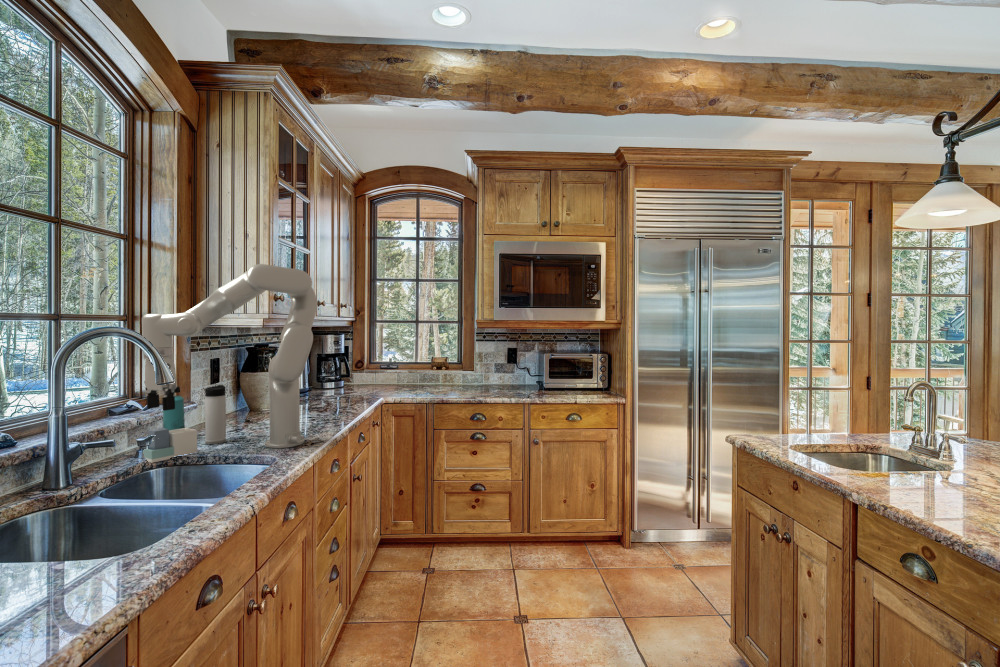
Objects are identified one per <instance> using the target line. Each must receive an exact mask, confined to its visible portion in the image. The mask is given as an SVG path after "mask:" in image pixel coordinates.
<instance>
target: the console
mask: <svg viewBox="0 0 1000 667" xmlns="http://www.w3.org/2000/svg"><path fill="white" fill-rule="evenodd" d="M195 452H197V453H198V430H197V429H194V428H189V427H185V428H182V429H176V430H170V431H169V447H168V448H163V449H158V450H150V449H144V450H143V454H144V457H145V458H146V459H147V461H148V463H152V464H154V463H156V462H157V463H158V462H161V461H167V460H171V459H170V458H171V457H174V456H178V455H184V454H190V453H195ZM147 461H146V462H147Z"/></svg>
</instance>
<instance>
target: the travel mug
mask: <svg viewBox="0 0 1000 667" xmlns="http://www.w3.org/2000/svg"><path fill="white" fill-rule="evenodd" d="M226 395H227V394H226V386H225V385H224V384H219V385H218V384H217V385H215V386H208V387H206V388H204V423H205V424H204V430H205V434H204V437H205V438H204V439H205V440H204V441H205V442H204V443H206V444H205V445H207V444H217V445H219V444H218V443H222V444H224V443H223V442H225V443H226V442H227V421H226V420H227V413H226V412H227V411H226V410H227V408H226V407H227V406H226V405H227V403H226V398H227V396H226Z"/></svg>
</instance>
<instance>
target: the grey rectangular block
mask: <svg viewBox="0 0 1000 667" xmlns="http://www.w3.org/2000/svg"><path fill="white" fill-rule="evenodd" d="M151 435H156V436H154V438H153V440H154V441H153V443H152V444H151V445H150V446H149V448H148V449H150V450H158V449H163V448H168V447H169V429H166V428H163V427H160V428H153V429H152V428H151V429H148V430H147V438H148V437H149V436H151ZM158 438H159V439H158Z"/></svg>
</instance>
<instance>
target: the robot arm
mask: <svg viewBox="0 0 1000 667" xmlns="http://www.w3.org/2000/svg"><path fill="white" fill-rule="evenodd" d="M312 286H313V281H312V277H311V275H310V274H308V273H307V272H306V271H304V270H302V269H299V268H298V269H297V268H291V267H283V266H276V265H270V264H264V263H258V264H254V265H252V266H251V267H249V269H248V270H246V271H245V272H243V273H241V274H240V275H238V276H236V277H235V278H233V279H231V280H230V281H228V282H226V283H225V284H223V285H221V286H219V287H218V288H216V289H215V290H214V291H213V292H212V293H211V294H210V295H209V296H208V297H207V298H205V299H204V300H202V301H201V302H199V303H197V304H196V305H195V306H193V307H192V308H190V309H188V310H186V311H184V312H179V313H178V312H177V313H169V314H168V313H147V314H144V315H142V316H141V331H142V332H141V333H142V338H143V337H145V338H146V339H147V340H148V341H150V342H151V343H152V344H153V346H154V347H155V348H156V349H157V350H158V351H159V353H160V354H161V356H162V357H163V359H164V361H165V362H166V363H167V365H168V366H169V369H170V370H171V372H172V374H173V376H174V379H175V383H174V384H166V385H157V384H156V383H155V371H154V367H153V365H152V364H151V362H150V361H149V359H148V357H147V356H146V355H145V354H144V352H143V351H142V352H143V354H142V355H143V360H145V364H144V365H145V366H144V385H145V386H144V387H145V391H146V392H145V395H146V407H147V409H154V408H155V409H156V408H159V407H160V394H158V393H159V392H161V393H162V396H163V397H161V403H162V411H163V410H164V411H166V410H173V409H175V396H176V393H175V391H176V388H177V386H178V384H177V372H176V367H175V366H176V365H175V361H174V344H173V343H174V342H173V341H174V340H173V336H176V337H191V336H194V335H197V334H198V333H199V332H200V331H202V330H204V329H205V328H207V327H208V326H210V325H212V324H213V323H215V322H217V321H218V320H219V319H221V318H223V317H224V316H227V315H229V314H231V313H234V312H235V311H236V310H238V309H240V308H241V307H243V306H244V305H246V304H247V303H249V302H251V300H253V299H255V298H257V297H258V296H260V295H261V294H262V293H265V292H266V291H267V292H269V291H270V292H275V293H281V294H282V293H283V294H287V296H289V297H290V300H291V302H290V303H291V304H290V308H289V311H288V312H289V313H288V314H287V318H286V321H285V323H284V326H283V328H282V330H281V333H280V336H279V337H280V344H279V346H278V349H277V353H276V354H275V355H274V356H273V357H272V358H271V359H270V361H269V364H268V382H269V383H268V386H269V439H268V440H267V441H264V446H265V447H266V448H269V449H286V448H293V447H297V446H301V445H303V444H304V443H305V439H306V438H305V435H302V431H301V429H300V426H301V425H300V423H301V422H300V420H301V419H300V417H301V415H300V413H301V412H300V410H301V409H300V407H301V406H300V403H301V402H300V399H301V398H300V395H301V394H300V380H299V379H300V377H301V375H302V374H303V371H304V370H305V367H306V364H307V361H308V358H309V355H310V352H311V351H312V346H313V342H314V334H313V331H312V327H313V324H314V321H315V318H316V314H317V310H318V299H317V295H316V293H315V290H314V289H313V287H312ZM166 391H167V392H166Z"/></svg>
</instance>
